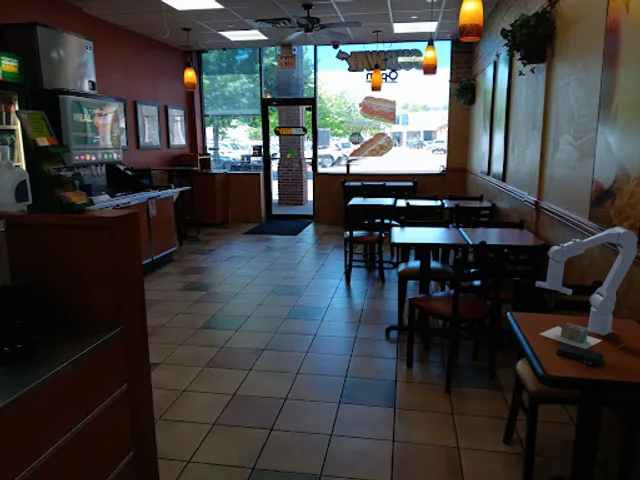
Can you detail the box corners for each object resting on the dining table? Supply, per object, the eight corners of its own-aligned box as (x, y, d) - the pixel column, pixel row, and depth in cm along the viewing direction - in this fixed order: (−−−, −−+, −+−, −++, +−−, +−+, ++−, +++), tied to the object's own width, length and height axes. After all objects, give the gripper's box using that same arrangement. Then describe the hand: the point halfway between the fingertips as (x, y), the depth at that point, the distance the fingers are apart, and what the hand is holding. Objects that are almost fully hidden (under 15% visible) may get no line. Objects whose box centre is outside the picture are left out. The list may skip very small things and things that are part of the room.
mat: (557, 327, 214) (557, 326, 214) (601, 341, 201) (602, 340, 200) (539, 335, 205) (539, 334, 205) (584, 350, 191) (584, 349, 191)
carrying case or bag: (552, 356, 186) (596, 370, 177) (553, 349, 185) (598, 362, 176) (562, 348, 194) (604, 360, 184) (563, 341, 193) (606, 353, 184)
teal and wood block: (568, 322, 205) (588, 328, 199) (566, 334, 206) (586, 340, 200) (562, 325, 202) (582, 331, 196) (560, 336, 203) (580, 343, 197)
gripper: (533, 272, 212) (529, 303, 214) (567, 281, 201) (563, 313, 203) (541, 270, 216) (538, 300, 219) (576, 278, 205) (571, 310, 208)
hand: (550, 306), depth 211 cm, fingers closed
